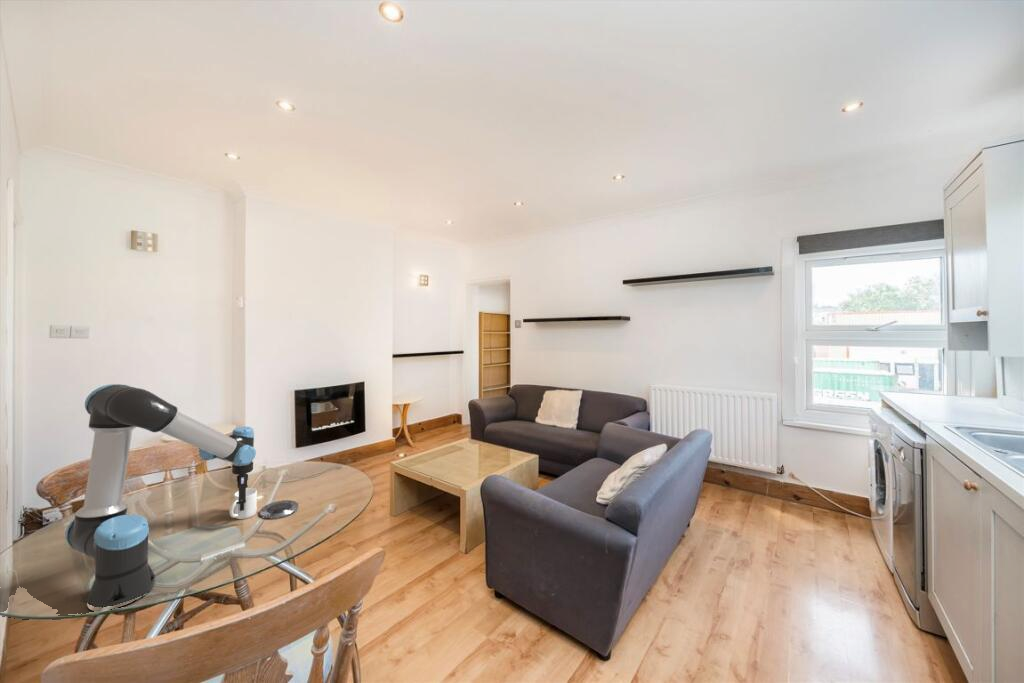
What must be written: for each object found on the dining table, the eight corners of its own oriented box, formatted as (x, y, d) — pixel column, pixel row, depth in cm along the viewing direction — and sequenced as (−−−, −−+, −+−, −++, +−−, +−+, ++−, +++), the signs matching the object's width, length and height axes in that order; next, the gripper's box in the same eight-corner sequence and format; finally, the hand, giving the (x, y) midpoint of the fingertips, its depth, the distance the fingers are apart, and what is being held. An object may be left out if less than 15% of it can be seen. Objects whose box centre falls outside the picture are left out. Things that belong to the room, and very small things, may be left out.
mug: (238, 525, 160) (238, 502, 159) (221, 522, 161) (221, 499, 160) (261, 511, 171) (261, 489, 171) (245, 509, 173) (245, 487, 172)
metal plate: (281, 521, 164) (281, 518, 164) (251, 516, 167) (251, 513, 167) (305, 505, 179) (305, 502, 179) (278, 500, 182) (278, 498, 182)
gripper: (253, 471, 157) (252, 520, 158) (252, 452, 177) (251, 496, 178) (231, 475, 152) (230, 525, 154) (233, 454, 173) (232, 499, 174)
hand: (241, 509), depth 166 cm, fingers open, 13 cm apart
